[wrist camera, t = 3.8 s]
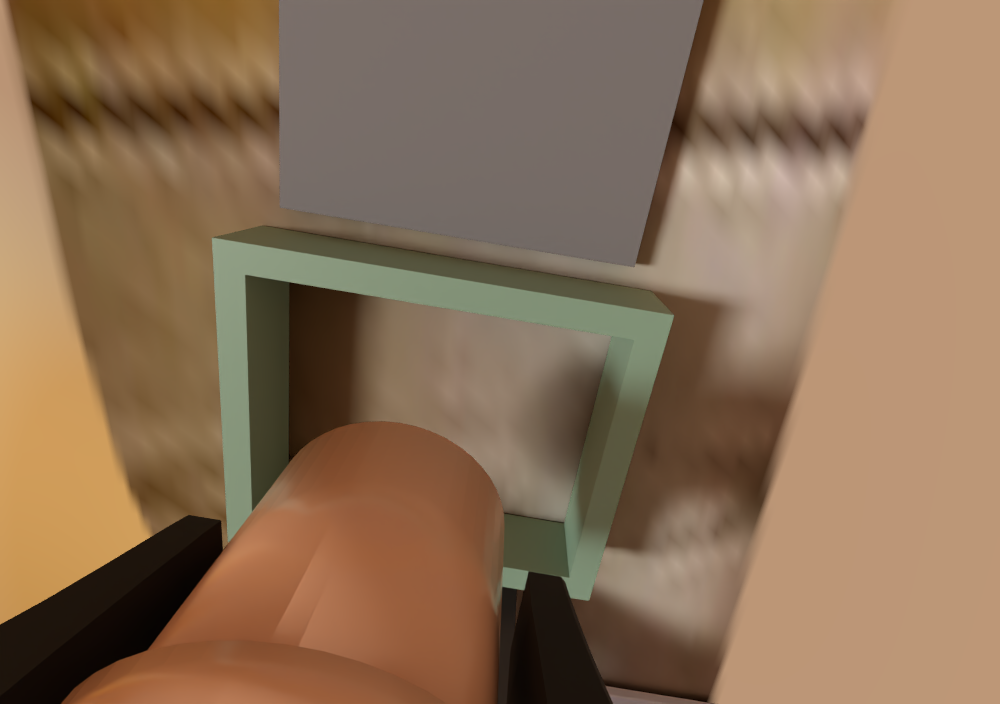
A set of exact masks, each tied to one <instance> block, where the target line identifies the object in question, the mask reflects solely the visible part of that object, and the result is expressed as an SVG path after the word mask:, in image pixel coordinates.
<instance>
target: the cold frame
mask: <svg viewBox="0 0 1000 704" xmlns="http://www.w3.org/2000/svg"><path fill="white" fill-rule="evenodd" d="M212 248H213V267H214V286H215V305H216V324H217V343H218V362H219V381H220V400H221V419H222V438H223V457H224V476H225V495H226V514H227V533H228V542H230V540H231V539H232V538H233V537H234V535H235V534H236V533H237V531H238V530H239V529H240V527H241V526H242V525H243V523H244V522H245V521H246V519H247V518H248V517H249V515H250V514H251V513H252V511H253V510H254V509H255V507H256V506H257V505H258V504H259V502H260V501H261V500H262V498H263V497H264V496H265V494H266V493H267V492H268V490H269V489H270V488H271V486H272V485H273V484H274V482H275V481H276V480H277V478H278V477H279V476H280V474H281V473H282V472H283V471H284V469H285V468H286V467H287V465H288V464H289V282H292V283H298V284H304V285H310V286H316V287H322V288H328V289H334V290H340V291H345V292H351V293H357V294H363V295H369V296H375V297H381V298H387V299H393V300H399V301H405V302H411V303H417V304H423V305H429V306H435V307H441V308H447V309H453V310H459V311H465V312H471V313H477V314H483V315H489V316H495V317H501V318H507V319H513V320H519V321H524V322H530V323H536V324H542V325H548V326H554V327H560V328H566V329H572V330H578V331H584V332H590V333H596V334H602V335H608V336H612V337H611V341H610V345H609V349H608V353H607V357H606V361H605V365H604V369H603V373H602V377H601V380H600V384H599V388H598V392H597V396H596V400H595V404H594V408H593V412H592V416H591V420H590V424H589V428H588V431H587V435H586V439H585V443H584V447H583V451H582V455H581V459H580V463H579V467H578V471H577V475H576V479H575V482H574V486H573V490H572V494H571V498H570V502H569V506H568V510H567V514H566V518H565V522H564V523H558V522H552V521H546V520H540V519H534V518H528V517H522V516H516V515H510V514H504V524H505V530H504V555H503V580H502V587H507V588H513V589H519V590H524V589H525V584H526V580H527V576H528V572H529V571H530V572H536V573H542V574H548V575H554V576H560V577H562V578H563V580H564V581H565V582H566V586H567V589H568V592H569V595H570V598H574V599H580V600H587V601H589V599H590V596H591V593H592V589H593V586H594V583H595V579H596V576H597V573H598V569H599V566H600V562H601V559H602V556H603V552H604V549H605V546H606V542H607V539H608V536H609V532H610V529H611V526H612V522H613V519H614V516H615V512H616V509H617V506H618V502H619V499H620V496H621V492H622V489H623V485H624V482H625V479H626V475H627V472H628V469H629V465H630V462H631V459H632V455H633V452H634V449H635V445H636V442H637V439H638V435H639V432H640V429H641V425H642V422H643V419H644V415H645V412H646V409H647V405H648V402H649V398H650V395H651V392H652V388H653V385H654V382H655V378H656V375H657V372H658V368H659V365H660V362H661V358H662V355H663V352H664V348H665V345H666V342H667V338H668V335H669V332H670V328H671V325H672V321H673V318H674V314H673V313H672V312H671V311H670V310H669V309H668V308H667V307H666V306H665V305H664V304H663V303H662V302H661V301H660V300H659V299H658V298H657V297H656V296H655V295H654V294H653V292H652V291H648V290H642V289H636V288H630V287H624V286H618V285H612V284H607V283H601V282H595V281H589V280H583V279H577V278H571V277H565V276H559V275H553V274H547V273H541V272H535V271H529V270H523V269H517V268H511V267H506V266H500V265H494V264H488V263H482V262H476V261H470V260H464V259H458V258H452V257H446V256H440V255H434V254H428V253H422V252H416V251H410V250H405V249H399V248H393V247H387V246H381V245H375V244H369V243H363V242H357V241H351V240H345V239H339V238H333V237H327V236H321V235H315V234H309V233H304V232H298V231H292V230H286V229H280V228H274V227H268V226H259V227H255V228H250V229H246V230H242V231H238V232H234V233H229V234H225V235H221V236H217V237H213V238H212Z"/></svg>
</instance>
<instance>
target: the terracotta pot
mask: <svg viewBox="0 0 1000 704" xmlns="http://www.w3.org/2000/svg"><path fill="white" fill-rule="evenodd" d="M504 530H505V524H504V512H503V507H502V503H501V500H500V497H499V494H498V492H497V489H496V488H495V486H494V484H493V482H492V480H491V479H490V477H489V476H488V474H487V473H486V472H485V470H484V469H483V468H482V467H481V465H480V464H479V463H478V462H477V461H476V460H475V459H474V458H473V457H472V456H471V455H469V454H468V453H467V452H466V451H464V450H463V449H462V448H460V447H459V446H458V445H456V444H454V443H453V442H451V441H449V440H448V439H446V438H444V437H442V436H440V435H438V434H436V433H433V432H431V431H428V430H425V429H422V428H419V427H416V426H412V425H407V424H402V423H395V422H385V421H377V422H362V423H355V424H350V425H346V426H342V427H339V428H336V429H333V430H331V431H329V432H326V433H324V434H322V435H320V436H319V437H317V438H315V439H314V440H312V441H311V442H309V443H308V444H307V445H306V446H304V447H303V448H302V449H301V450H300V451H299V452H298V453H297V454H296V455H295V456H294V458H293V459H292V460H291V461H290V463H289V464H288V465H287V467H286V468H285V469H284V471H283V472H282V473H281V474H280V476H279V477H278V478H277V480H276V481H275V482H274V484H273V485H272V486H271V488H270V489H269V490H268V492H267V493H266V494H265V496H264V497H263V498H262V500H261V501H260V502H259V504H258V505H257V506H256V507H255V509H254V510H253V511H252V513H251V514H250V515H249V517H248V518H247V519H246V521H245V522H244V523H243V525H242V526H241V527H240V529H239V530H238V531H237V533H236V534H235V535H234V537H233V538H232V539H231V540H230V542H229V543H228V544H227V546H226V547H225V548H224V550H223V551H222V552H221V554H220V555H219V556H218V558H217V559H216V560H215V562H214V563H213V564H212V566H211V567H210V568H209V570H208V571H207V572H206V573H205V575H204V576H203V577H202V579H201V580H200V581H199V583H198V584H197V585H196V587H195V588H194V589H193V591H192V592H191V593H190V595H189V596H188V597H187V599H186V600H185V601H184V603H183V604H182V605H181V606H180V608H179V609H178V610H177V612H176V613H175V614H174V616H173V617H172V618H171V620H170V621H169V622H168V624H167V625H166V626H165V628H164V629H163V630H162V632H161V633H160V634H159V636H158V637H157V638H156V639H155V641H154V642H153V643H152V645H151V646H150V647H149V649H148V650H147V651H144V652H142V653H139V654H136V655H133V656H130V657H127V658H124V659H122V660H119V661H116V662H115V663H113V664H111V665H109V666H107V667H105V668H103V669H101V670H99V671H97V672H95V673H94V674H92V675H91V676H90V677H88V678H87V679H86V680H84V681H83V682H82V683H80V684H79V685H78V686H76V687H75V688H74V689H73V690H72V691H71V692H70V693H69V695H68V696H67V697H66V698H65V699H64V700H63V701H62V702H61V704H498V681H499V656H500V631H501V606H502V580H503V555H504Z"/></svg>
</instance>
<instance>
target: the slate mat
mask: <svg viewBox="0 0 1000 704" xmlns="http://www.w3.org/2000/svg"><path fill="white" fill-rule="evenodd" d="M703 1H704V0H279V106H280V208H286V209H292V210H298V211H304V212H310V213H316V214H322V215H327V216H333V217H339V218H345V219H351V220H357V221H363V222H369V223H375V224H381V225H387V226H393V227H399V228H405V229H411V230H416V231H422V232H428V233H434V234H440V235H446V236H452V237H458V238H464V239H470V240H476V241H482V242H488V243H494V244H499V245H505V246H511V247H517V248H523V249H529V250H535V251H541V252H547V253H553V254H559V255H565V256H571V257H577V258H582V259H588V260H594V261H600V262H606V263H612V264H618V265H624V266H630V267H635V263H636V260H637V256H638V252H639V248H640V244H641V240H642V236H643V233H644V229H645V225H646V221H647V217H648V213H649V209H650V206H651V202H652V198H653V194H654V190H655V186H656V182H657V178H658V175H659V171H660V167H661V163H662V159H663V155H664V151H665V148H666V144H667V140H668V136H669V132H670V128H671V124H672V120H673V117H674V113H675V109H676V105H677V101H678V97H679V93H680V90H681V86H682V82H683V78H684V74H685V70H686V66H687V62H688V59H689V55H690V51H691V47H692V43H693V39H694V35H695V32H696V28H697V24H698V20H699V16H700V12H701V8H702V5H703Z"/></svg>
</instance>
